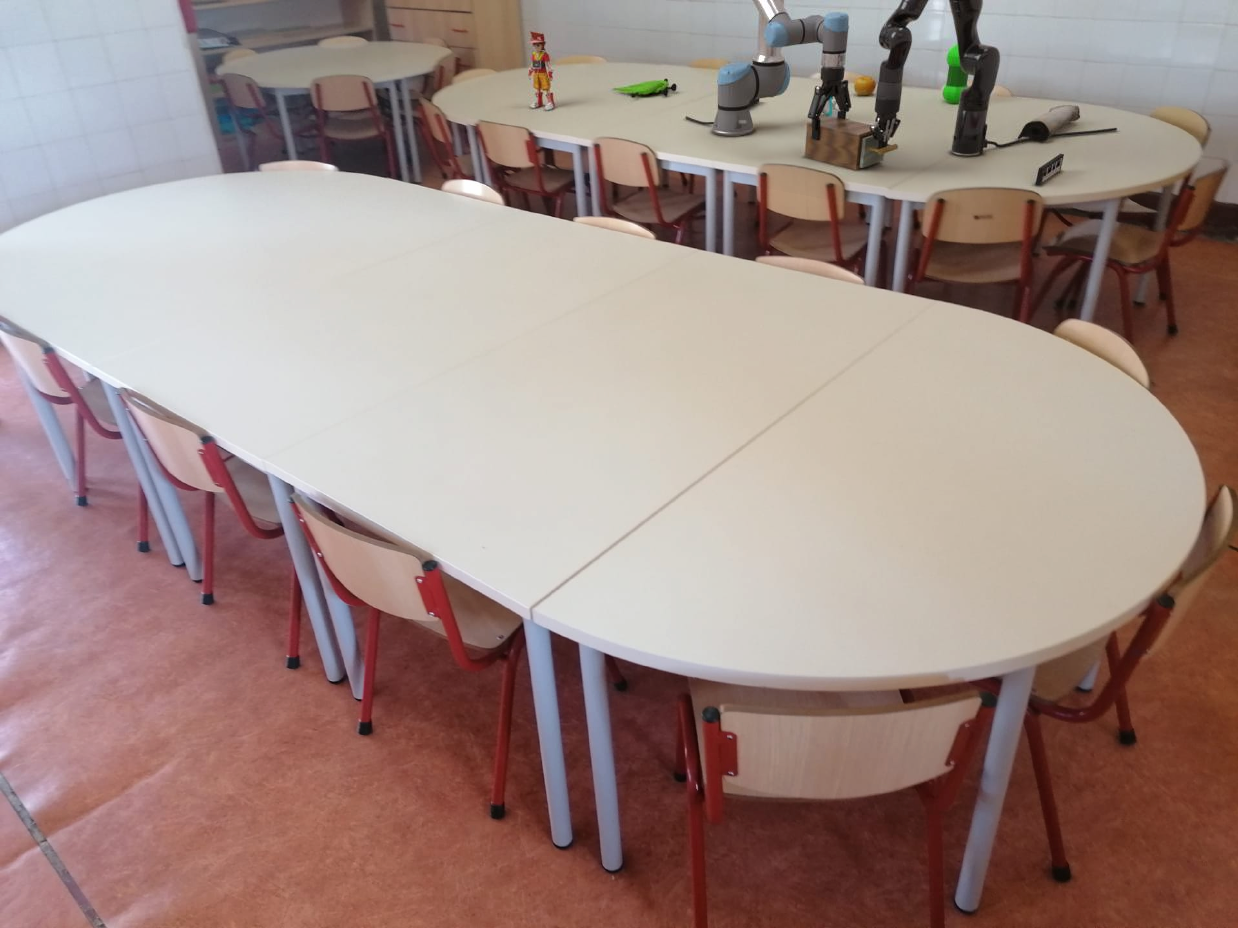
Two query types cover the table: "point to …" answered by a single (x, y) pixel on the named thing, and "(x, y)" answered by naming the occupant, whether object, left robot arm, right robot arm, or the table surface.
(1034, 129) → the rolled mat
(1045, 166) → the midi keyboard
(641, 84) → the toy
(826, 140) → the cabinet
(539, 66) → the toy
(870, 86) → the fruit
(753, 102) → the disk drive
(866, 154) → the drawer
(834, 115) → the anatomical model
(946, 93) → the plastic bottle
